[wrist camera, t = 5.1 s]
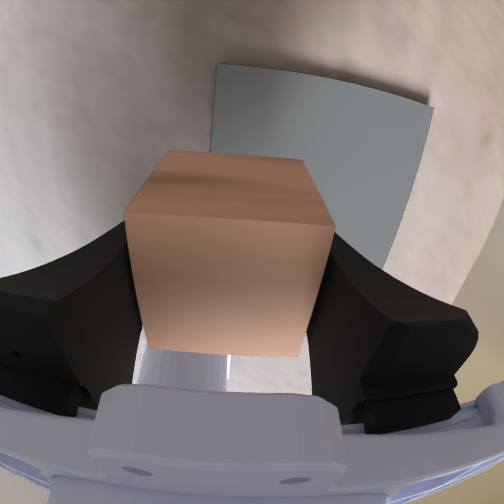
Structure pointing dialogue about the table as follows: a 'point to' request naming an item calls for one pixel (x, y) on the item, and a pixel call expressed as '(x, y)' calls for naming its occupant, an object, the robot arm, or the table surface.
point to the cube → (228, 253)
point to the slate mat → (329, 143)
